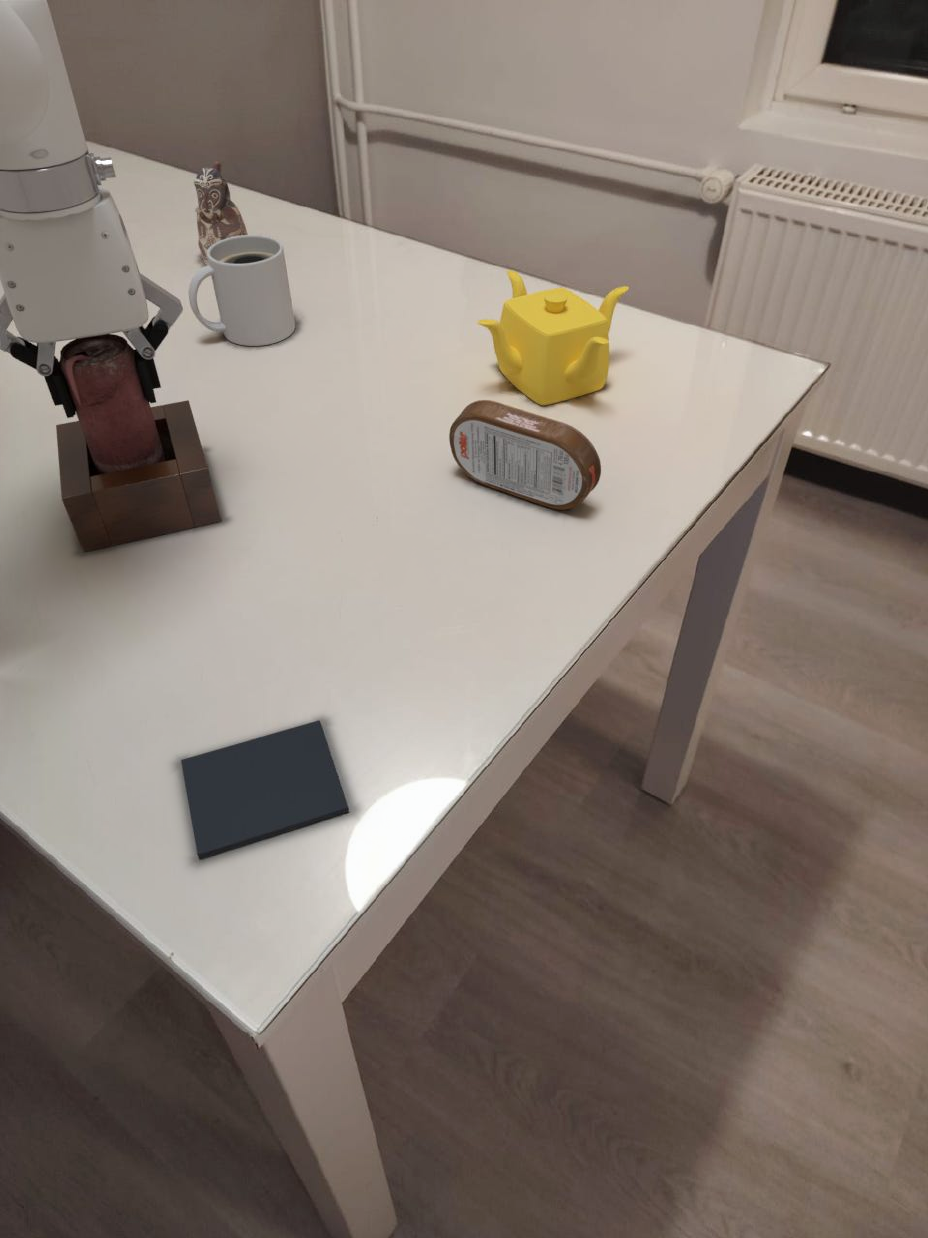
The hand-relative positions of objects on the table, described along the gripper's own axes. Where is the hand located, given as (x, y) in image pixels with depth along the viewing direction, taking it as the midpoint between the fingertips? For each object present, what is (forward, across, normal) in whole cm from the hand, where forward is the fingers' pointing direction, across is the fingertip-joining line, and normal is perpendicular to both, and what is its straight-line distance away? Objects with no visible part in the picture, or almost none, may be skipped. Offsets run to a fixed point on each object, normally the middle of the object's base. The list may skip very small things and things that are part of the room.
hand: (110, 400), depth 76 cm
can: (+9, 0, 0) cm, 9 cm away
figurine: (+10, -17, -56) cm, 59 cm away
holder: (+11, 0, 0) cm, 11 cm away
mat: (+11, -4, +36) cm, 38 cm away
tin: (+11, -34, +12) cm, 38 cm away
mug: (+10, -16, -32) cm, 37 cm away
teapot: (+10, -46, -8) cm, 48 cm away
